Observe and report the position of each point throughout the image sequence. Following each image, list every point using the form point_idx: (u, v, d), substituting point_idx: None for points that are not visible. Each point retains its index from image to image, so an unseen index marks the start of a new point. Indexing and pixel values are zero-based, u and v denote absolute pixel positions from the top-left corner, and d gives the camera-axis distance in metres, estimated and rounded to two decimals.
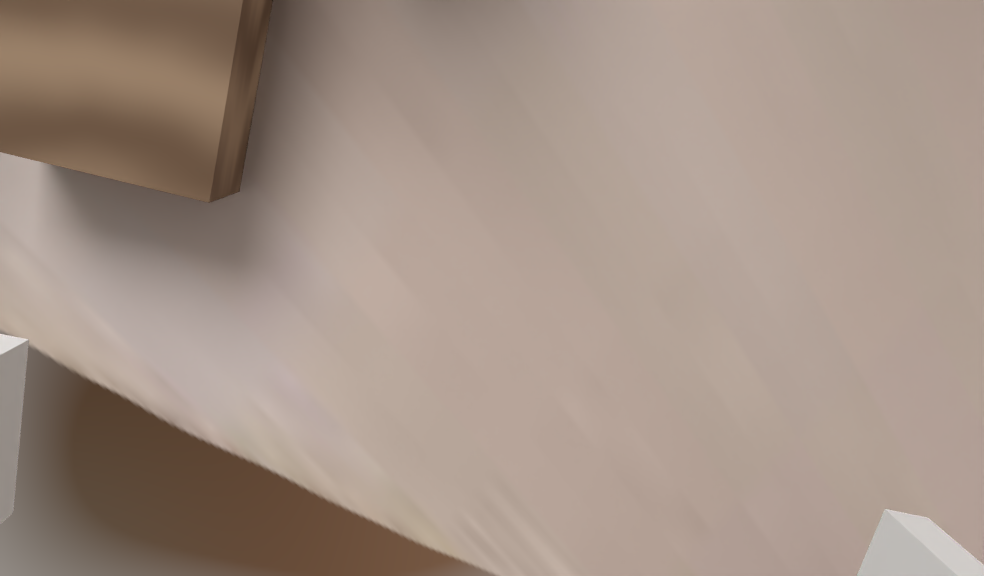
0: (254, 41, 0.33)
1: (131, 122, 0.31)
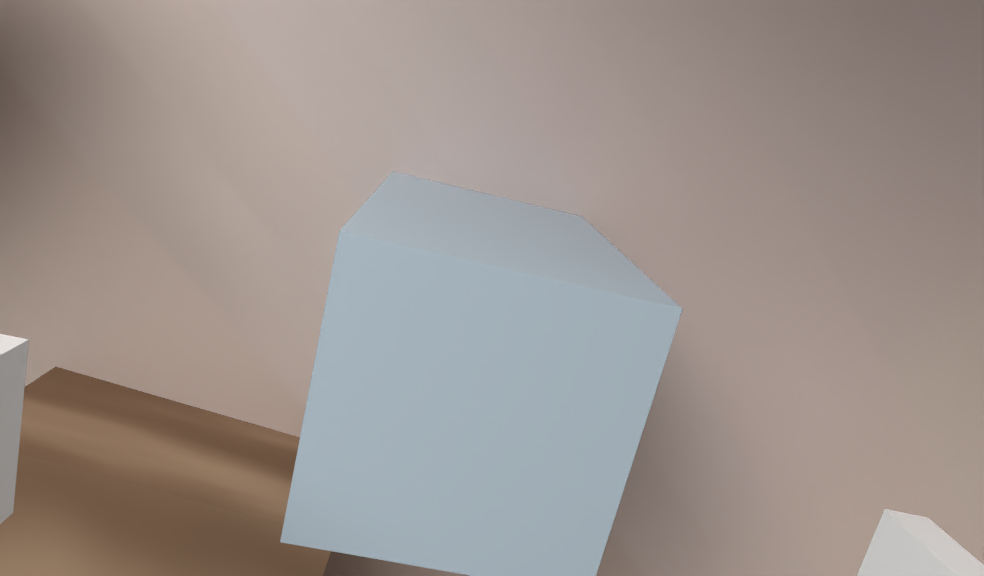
0: None
1: None
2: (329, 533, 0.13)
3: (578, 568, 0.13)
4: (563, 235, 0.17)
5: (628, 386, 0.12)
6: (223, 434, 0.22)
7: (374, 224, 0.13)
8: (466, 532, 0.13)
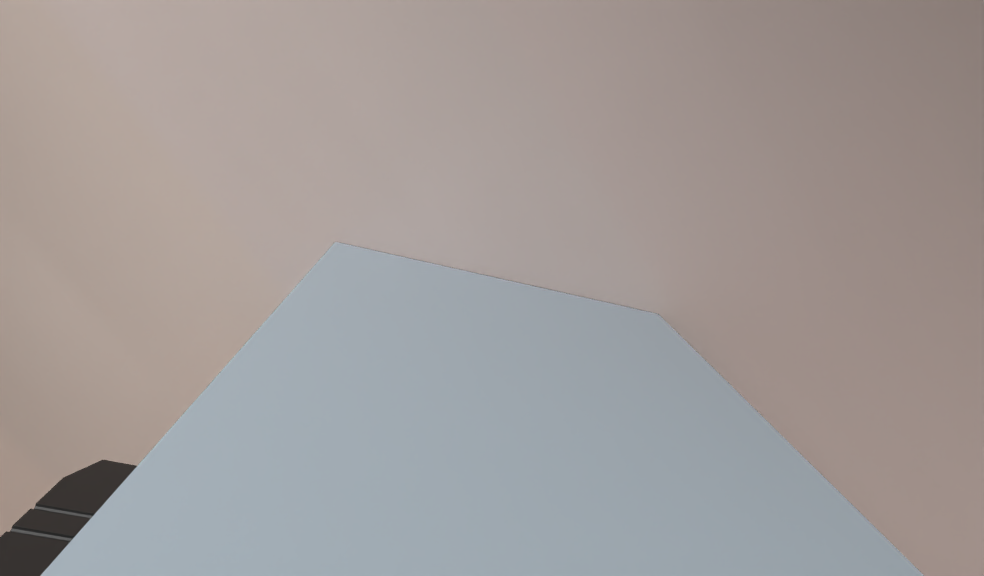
0: None
1: None
2: None
3: None
4: (668, 407, 0.08)
5: None
6: None
7: (151, 562, 0.04)
8: None
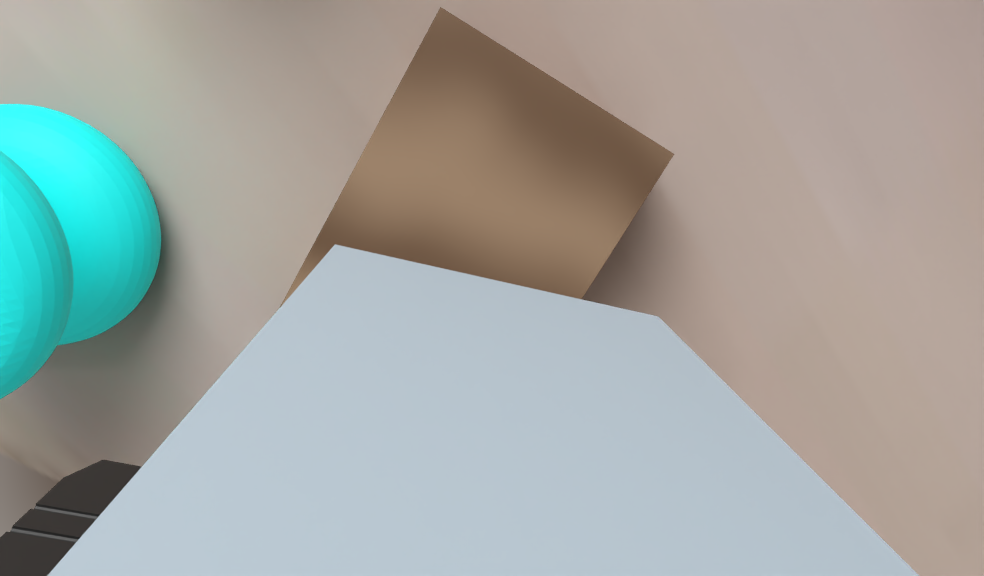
0: None
1: None
2: None
3: None
4: (668, 411, 0.08)
5: None
6: None
7: (149, 572, 0.04)
8: None
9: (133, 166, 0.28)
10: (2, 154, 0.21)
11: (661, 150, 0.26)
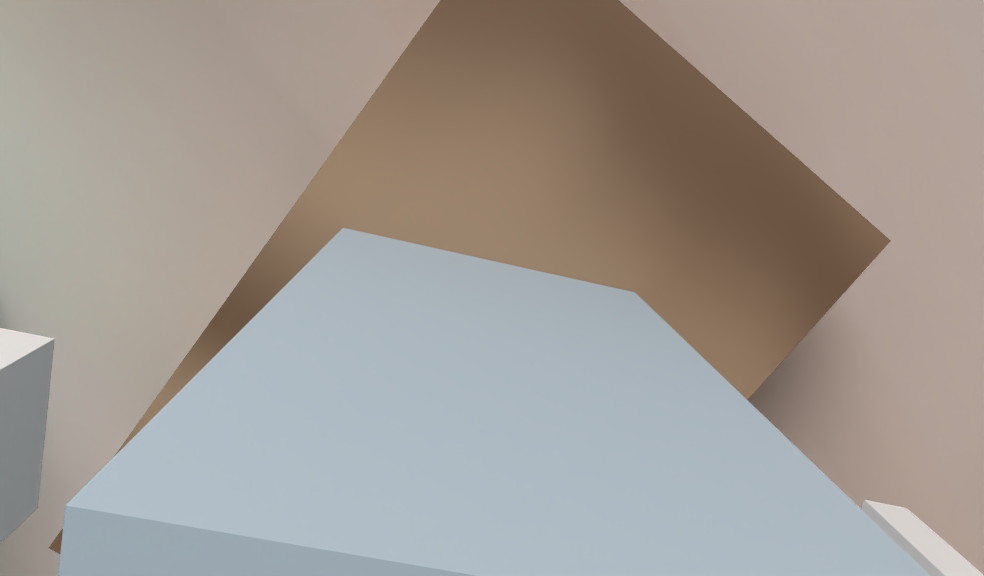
0: None
1: None
2: None
3: None
4: (630, 358, 0.09)
5: None
6: None
7: (218, 426, 0.05)
8: None
9: None
10: None
11: (869, 231, 0.14)
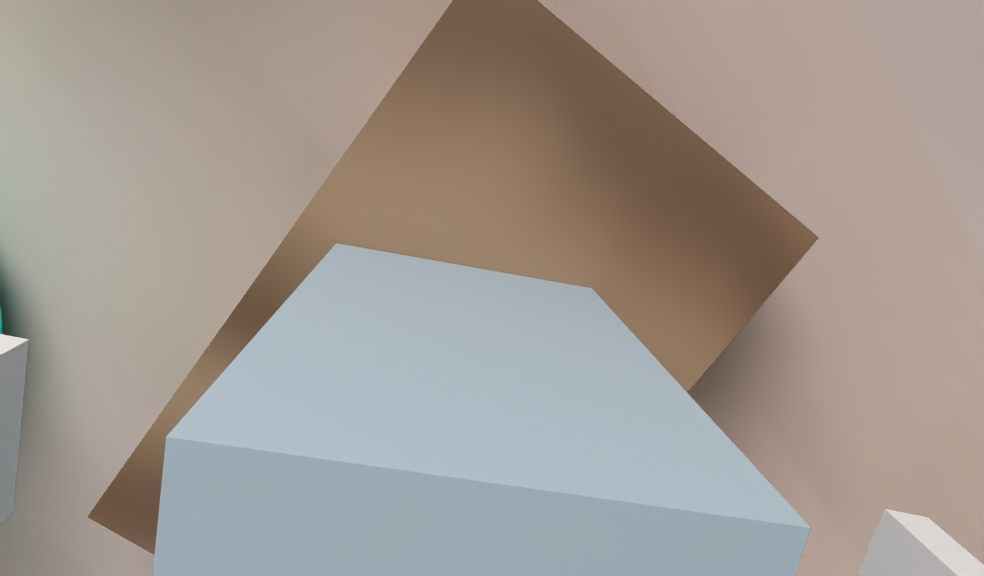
0: None
1: None
2: None
3: None
4: (574, 340, 0.12)
5: None
6: None
7: (255, 392, 0.07)
8: None
9: None
10: None
11: (800, 229, 0.16)
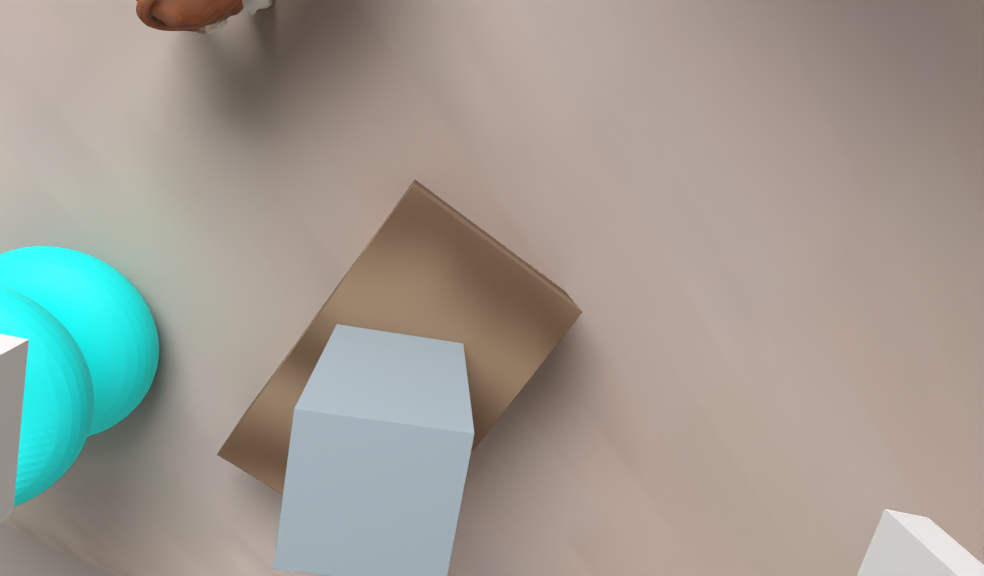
0: None
1: None
2: (299, 562, 0.24)
3: (436, 572, 0.24)
4: (435, 374, 0.28)
5: (451, 474, 0.24)
6: (505, 248, 0.36)
7: (314, 396, 0.24)
8: (373, 557, 0.24)
9: (138, 294, 0.35)
10: (43, 310, 0.28)
11: (572, 308, 0.33)
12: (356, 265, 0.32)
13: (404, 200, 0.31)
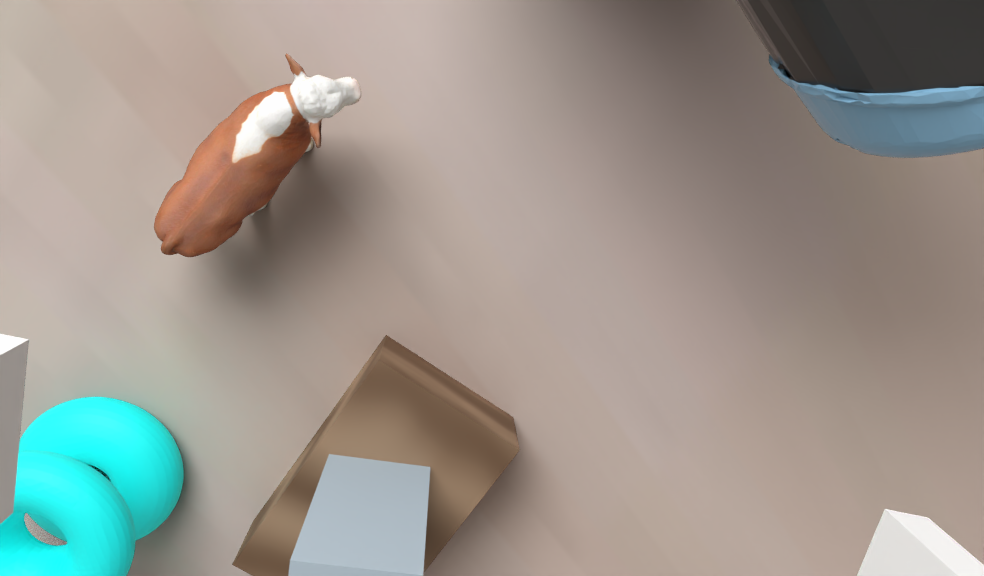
0: None
1: None
2: None
3: None
4: (401, 508, 0.36)
5: None
6: (460, 389, 0.44)
7: (305, 545, 0.32)
8: None
9: (166, 432, 0.43)
10: (96, 475, 0.36)
11: (511, 447, 0.41)
12: (336, 420, 0.40)
13: (372, 370, 0.40)
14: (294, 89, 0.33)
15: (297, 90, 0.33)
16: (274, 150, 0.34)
